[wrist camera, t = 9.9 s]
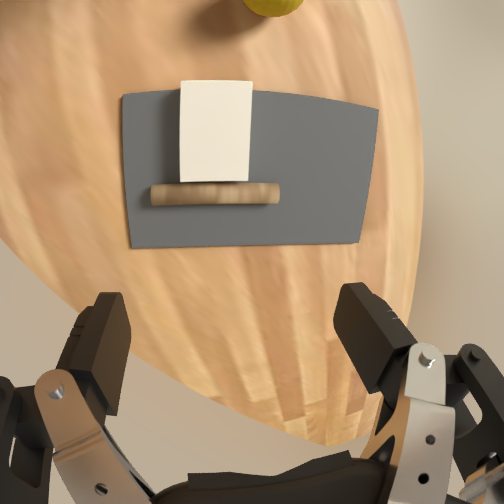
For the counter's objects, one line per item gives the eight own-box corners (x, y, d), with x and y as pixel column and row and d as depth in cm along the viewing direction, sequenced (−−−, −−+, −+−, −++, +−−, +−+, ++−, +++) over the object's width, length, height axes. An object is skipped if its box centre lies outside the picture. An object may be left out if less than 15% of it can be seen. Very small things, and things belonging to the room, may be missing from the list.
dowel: (153, 182, 26) (150, 187, 24) (275, 181, 28) (280, 186, 26) (154, 202, 27) (151, 208, 25) (274, 200, 28) (278, 206, 27)
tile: (182, 176, 26) (183, 84, 22) (244, 175, 27) (248, 84, 23) (180, 181, 24) (181, 80, 20) (248, 180, 25) (252, 81, 21)
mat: (124, 95, 22) (122, 94, 21) (375, 109, 26) (378, 109, 25) (133, 246, 29) (132, 248, 28) (356, 240, 33) (358, 242, 32)
